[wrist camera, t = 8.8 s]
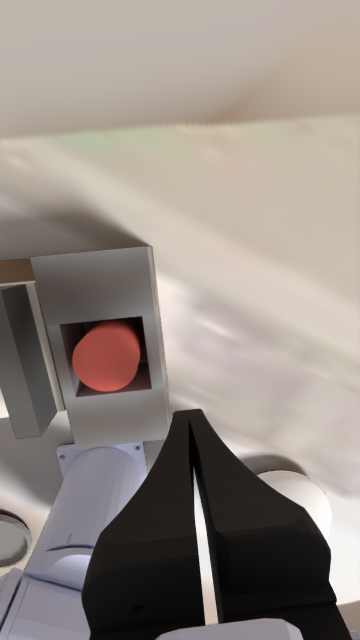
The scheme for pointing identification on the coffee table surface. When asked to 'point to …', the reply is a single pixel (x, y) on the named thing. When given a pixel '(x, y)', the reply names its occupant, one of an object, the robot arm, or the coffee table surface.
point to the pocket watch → (13, 541)
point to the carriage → (26, 362)
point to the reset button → (109, 354)
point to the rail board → (80, 317)
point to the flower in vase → (302, 495)
